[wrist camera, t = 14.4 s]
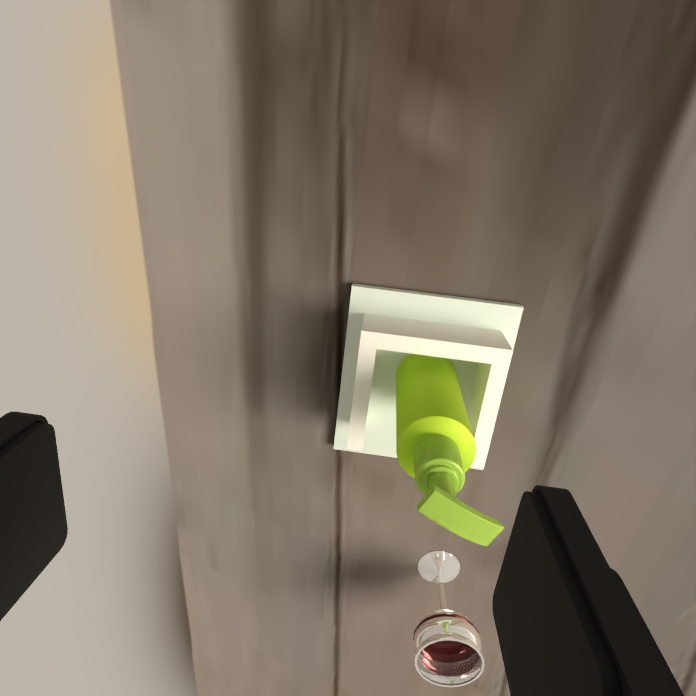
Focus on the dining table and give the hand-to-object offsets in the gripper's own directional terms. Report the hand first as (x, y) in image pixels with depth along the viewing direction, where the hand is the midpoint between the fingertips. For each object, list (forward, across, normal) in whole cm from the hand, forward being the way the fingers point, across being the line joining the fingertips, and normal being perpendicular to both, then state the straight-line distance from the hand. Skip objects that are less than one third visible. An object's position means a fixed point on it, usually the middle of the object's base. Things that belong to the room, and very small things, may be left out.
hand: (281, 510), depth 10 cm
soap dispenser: (+38, -8, +14) cm, 41 cm away
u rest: (+38, -7, +14) cm, 41 cm away
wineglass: (+38, -13, +38) cm, 56 cm away
